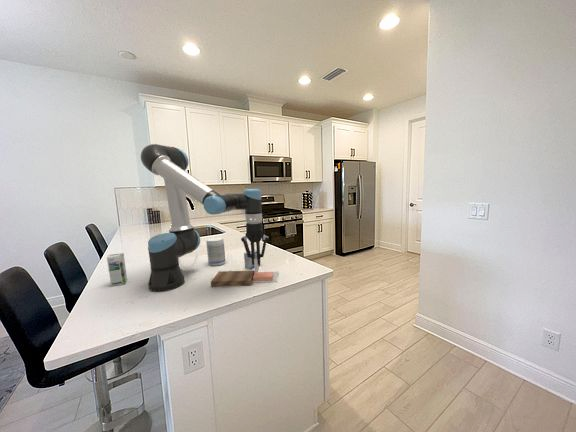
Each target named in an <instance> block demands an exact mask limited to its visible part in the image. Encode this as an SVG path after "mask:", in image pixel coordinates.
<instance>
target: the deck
mask: <svg viewBox="0 0 576 432" xmlns="http://www.w3.org/2000/svg"><path fill="white" fill-rule="evenodd" d="M254 274H255V269H251V270H226V271H225V270H224V271H222V270H220V271H218V272H217V273H216V274H215V276H214V277H213V278H212V279H211V281H210V287H211V288H212V287H215V288H220V287H223V288H224V287H246V286H247V287H248V286H250V287H251V286H252V284H253V276H254Z"/></svg>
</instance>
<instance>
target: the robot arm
mask: <svg viewBox="0 0 576 432" xmlns="http://www.w3.org/2000/svg"><path fill="white" fill-rule="evenodd" d="M140 161H141V163H142V165H143V166H144V168H146V170H148V171H149V172H150V173H153V174H154V175H155V176H160V177H161V178H163V181H164V188H165V192H166V198H167V199H166V200H167V204H168V206H167V207H168V211H169V216H170V223H171V228H169V230H168V231H169V232H164V233H160V234H157V235H154V236H152V237H151V238H149V239H148V241H147V251H148V258H149V263H150V264H149V265H150V275H149V280H148V289H149V291H151V292H165V291H171V290H174V289H176V288H179V287H181V286H182V285H184V283H185V282H186V279H185V277H186V276H185V274H184V272H183V271H182V268H181V267H180V262H179V259H180V258H182V257H183V256H186V255H187V254H191V253H193V252H194V251H195V250H197V249H198V248H199V246H200V245H201V236H200V233H198V231H197V230H195V227H194V225H192V224H191V221H190V215H189V208H188V203H187V201H188V200H187V196H186V194H187V195H189V196H190V197H191V198H193V199H194V200H196V201H197V202H198V203H200V204H201V205H203V210H205V212H206V213H207V214H208V215H212V216H214V215H220V214H223V213H227V212H231V211H235V210H236V211H238V210H239V211H240V210H241V211H244V212H245V222H246V224H245V227H246V228H245V229H246V233H245V235H244V236H242V237H241V238H240V240H241V241H242V243H243V245H244V250H245V253H247V256H248V257H250V258H252V265H254V268H253V269H254V270H255V272H259V266H258V265H260V266H261V258H264V255H265V252H266V246H267V242H268V240H269V236H268V235H266V234H264V229H263V212H262V210H263V208H262V194H261V190H260V188H245V189H244V190H243V193H223V194H220V193H218V192H217V191H215V190H214V189H213V188H211V187H210V186H208V185H207V184H205V183H203V182H202V181H200V180H199V179H198V178H196V177H195V176H194V175H192V174H190V173H189V172H187V171H186V170H187V169H188V166H189V162H190V161H189V157H188V155H187V153H186V152H185V151H184V150H182V149H180V148H179V147H175V146H169V145H162V144H157V143H152V144H151V143H150V144H148V145H146V146H145V147H144V148H143V149H142V150H141V152H140ZM247 239H248V241H249V243H250V247H249V243H248V241H247ZM262 240H263V242H262V243H263V244H262V248H261V246H260V245H261V242H260V241H262ZM255 245H256V246H255ZM255 247H256V249H255ZM260 249H261V250H260ZM255 250H257V257H255ZM250 251H251V253H250Z"/></svg>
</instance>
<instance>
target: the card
mask: <svg viewBox="0 0 576 432" xmlns="http://www.w3.org/2000/svg"><path fill="white" fill-rule="evenodd" d="M273 272H274V271H262V272H261V271H258V272H255V274H254V276H253V281H273Z"/></svg>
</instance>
